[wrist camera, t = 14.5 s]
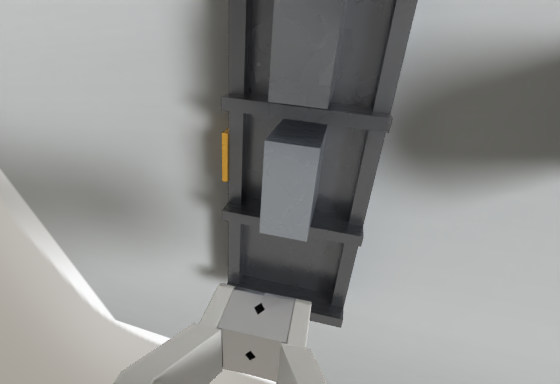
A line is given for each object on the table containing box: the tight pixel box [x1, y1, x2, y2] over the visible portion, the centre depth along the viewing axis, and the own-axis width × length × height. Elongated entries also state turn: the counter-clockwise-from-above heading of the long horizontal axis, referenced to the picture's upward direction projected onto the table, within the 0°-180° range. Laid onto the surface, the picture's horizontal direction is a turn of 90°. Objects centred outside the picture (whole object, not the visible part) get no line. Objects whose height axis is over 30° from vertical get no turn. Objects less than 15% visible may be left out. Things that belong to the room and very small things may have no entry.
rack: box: [221, 0, 418, 328], centre depth 21 cm, size 25×10×6 cm, turn 175°
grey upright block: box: [259, 119, 328, 242], centre depth 20 cm, size 6×3×5 cm, turn 175°
